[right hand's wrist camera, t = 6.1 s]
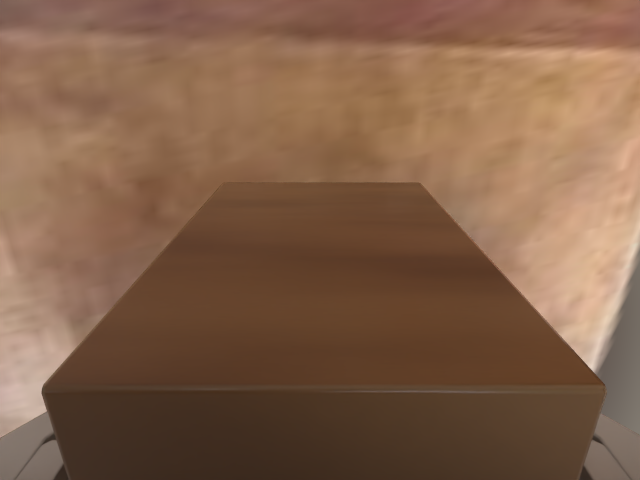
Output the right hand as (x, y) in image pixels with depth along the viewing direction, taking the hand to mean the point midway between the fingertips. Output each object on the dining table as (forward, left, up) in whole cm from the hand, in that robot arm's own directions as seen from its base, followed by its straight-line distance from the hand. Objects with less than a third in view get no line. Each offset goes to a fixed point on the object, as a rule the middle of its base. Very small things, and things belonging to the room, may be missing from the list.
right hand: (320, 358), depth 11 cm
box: (+10, 0, -4) cm, 11 cm away
